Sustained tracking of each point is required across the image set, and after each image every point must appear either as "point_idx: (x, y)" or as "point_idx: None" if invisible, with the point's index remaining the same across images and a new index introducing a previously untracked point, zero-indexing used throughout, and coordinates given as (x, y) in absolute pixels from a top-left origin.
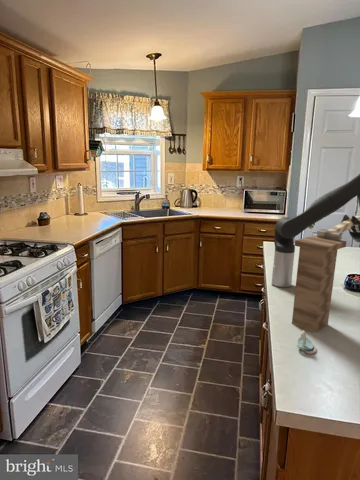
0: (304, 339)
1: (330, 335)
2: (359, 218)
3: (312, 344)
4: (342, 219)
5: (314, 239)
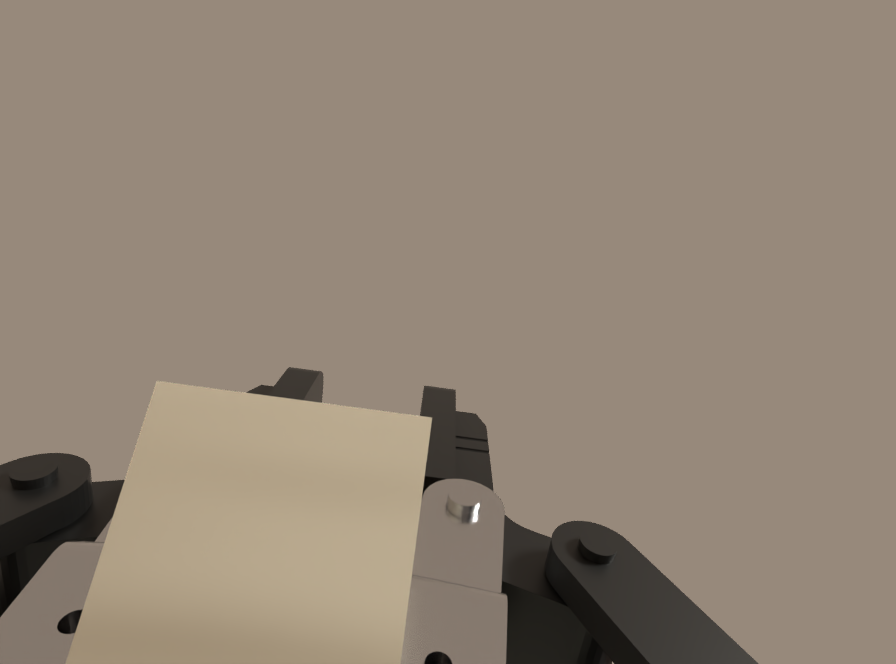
0: None
1: None
2: (158, 471)
3: None
4: (682, 609)
5: None
